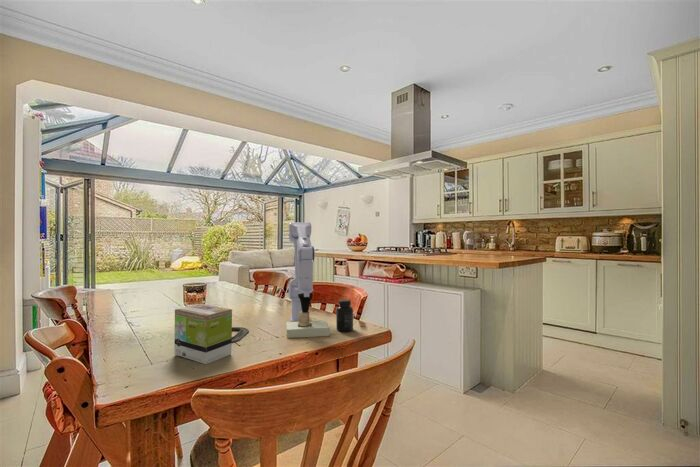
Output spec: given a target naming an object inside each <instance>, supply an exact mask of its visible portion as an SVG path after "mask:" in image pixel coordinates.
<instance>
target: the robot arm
mask: <svg viewBox="0 0 700 467" xmlns="http://www.w3.org/2000/svg"><path fill="white" fill-rule="evenodd" d="M311 235H312V224H311V222H298V221H297V222H293V221H290V222H289V223H288V237H289V241H290V242H292V243H293V246H294V278H292V279H291V280H290V281H289V282H288V299H289V300H291V315H290V316H289V317H290V322H299V312H300V311H302V312H303V313H308V312H309V309H310V306H311V305H310V304H311V302H312V299H313V297H314V295H313V293H312V292H313V291H314V288H313V286H314V285H313V284H314V261H315V258H316V256H315V255H316V253H315V247H314V246H313V245H312V243H311Z"/></svg>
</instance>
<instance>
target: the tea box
mask: <svg viewBox="0 0 700 467" xmlns="http://www.w3.org/2000/svg"><path fill="white" fill-rule="evenodd" d="M232 327H233V309H232V308H226V307H220V306H215V305H210V304H204V303H198V304H195V305H191V306H185V307H182V308H175V309H174V346H173V347H174V348H173V350H174V353H173V354H174V356H177V357H182V358H184V359H187V360H191V361H194V362H197V363H200V364H202V365H208V364H210V363H213V362H216V361H219V360H221V359H224V358H225V357H227V356H231V355H232V346H233V345H232V344H233V343H232V337H233V336H232V334H233V331H232Z"/></svg>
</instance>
